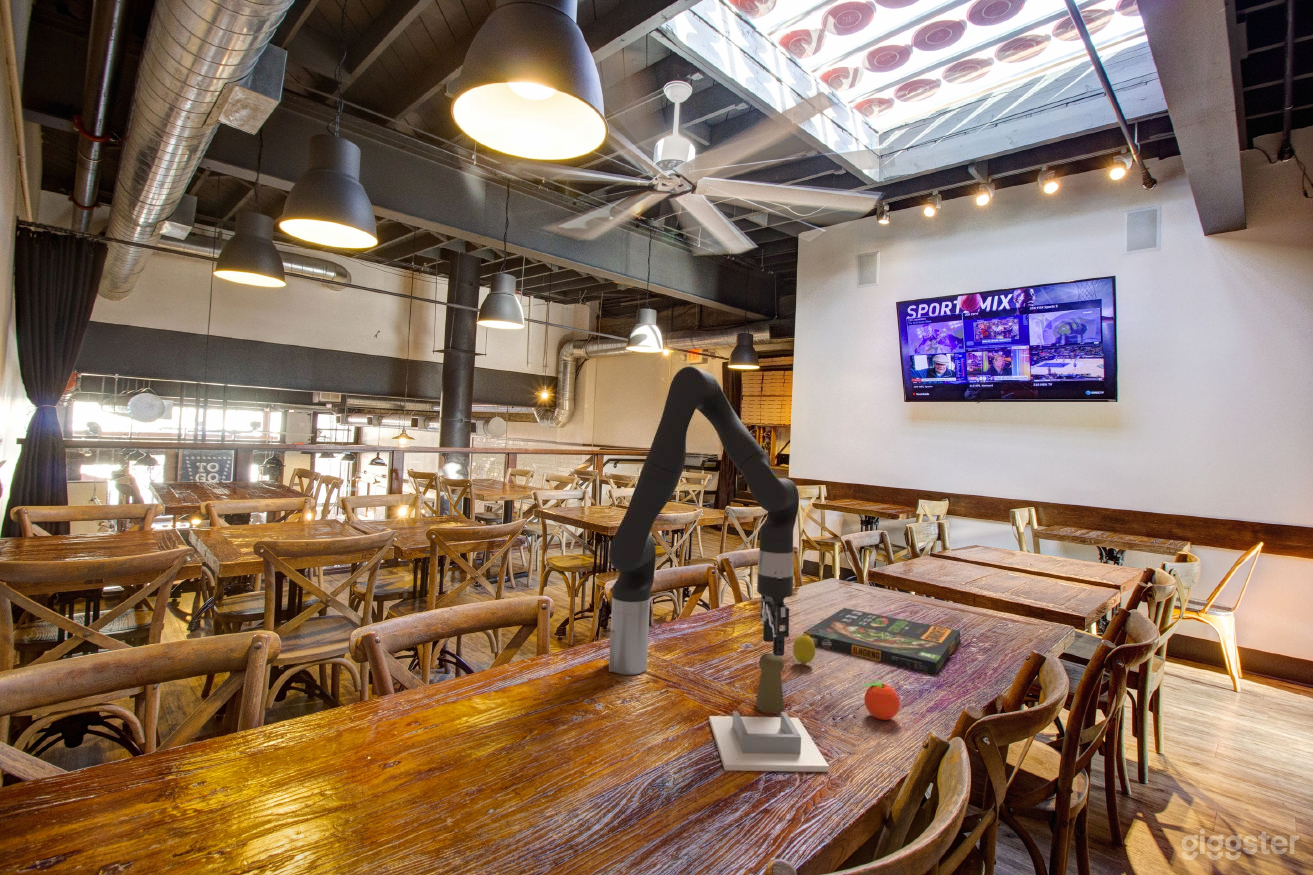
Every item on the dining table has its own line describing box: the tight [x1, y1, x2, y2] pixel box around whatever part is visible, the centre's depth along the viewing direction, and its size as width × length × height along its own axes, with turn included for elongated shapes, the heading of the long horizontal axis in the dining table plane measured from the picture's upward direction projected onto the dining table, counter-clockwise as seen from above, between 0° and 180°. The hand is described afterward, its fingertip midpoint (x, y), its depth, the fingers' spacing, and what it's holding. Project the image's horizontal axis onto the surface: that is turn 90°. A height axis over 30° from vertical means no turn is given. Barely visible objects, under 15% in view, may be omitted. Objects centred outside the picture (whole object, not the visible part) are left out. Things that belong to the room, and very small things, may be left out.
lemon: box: [792, 632, 816, 666], centre depth 153 cm, size 6×6×8 cm
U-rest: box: [708, 710, 830, 773], centre depth 111 cm, size 18×18×4 cm
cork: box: [755, 652, 785, 714], centre depth 128 cm, size 6×6×11 cm
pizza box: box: [803, 607, 961, 675], centre depth 175 cm, size 35×35×4 cm
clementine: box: [859, 682, 901, 721], centre depth 125 cm, size 8×7×7 cm
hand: (773, 647), depth 128 cm, fingers open, 8 cm apart
